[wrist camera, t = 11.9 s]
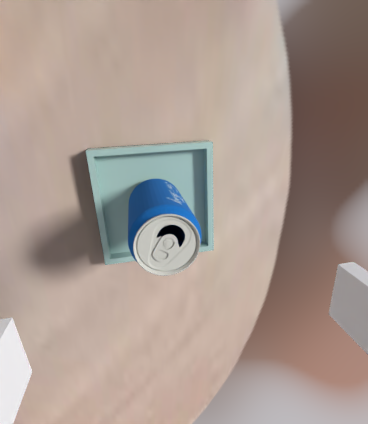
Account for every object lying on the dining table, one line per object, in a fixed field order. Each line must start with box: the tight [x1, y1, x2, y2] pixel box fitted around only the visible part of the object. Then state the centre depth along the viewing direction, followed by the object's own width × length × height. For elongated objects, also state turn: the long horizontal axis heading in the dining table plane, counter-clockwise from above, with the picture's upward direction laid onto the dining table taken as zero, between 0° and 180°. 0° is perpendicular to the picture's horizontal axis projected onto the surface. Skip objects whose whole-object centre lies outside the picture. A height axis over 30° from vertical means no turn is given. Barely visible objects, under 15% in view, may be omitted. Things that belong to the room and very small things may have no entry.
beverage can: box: [128, 179, 202, 276], centre depth 27 cm, size 6×6×12 cm
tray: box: [86, 140, 214, 265], centre depth 33 cm, size 14×14×2 cm
